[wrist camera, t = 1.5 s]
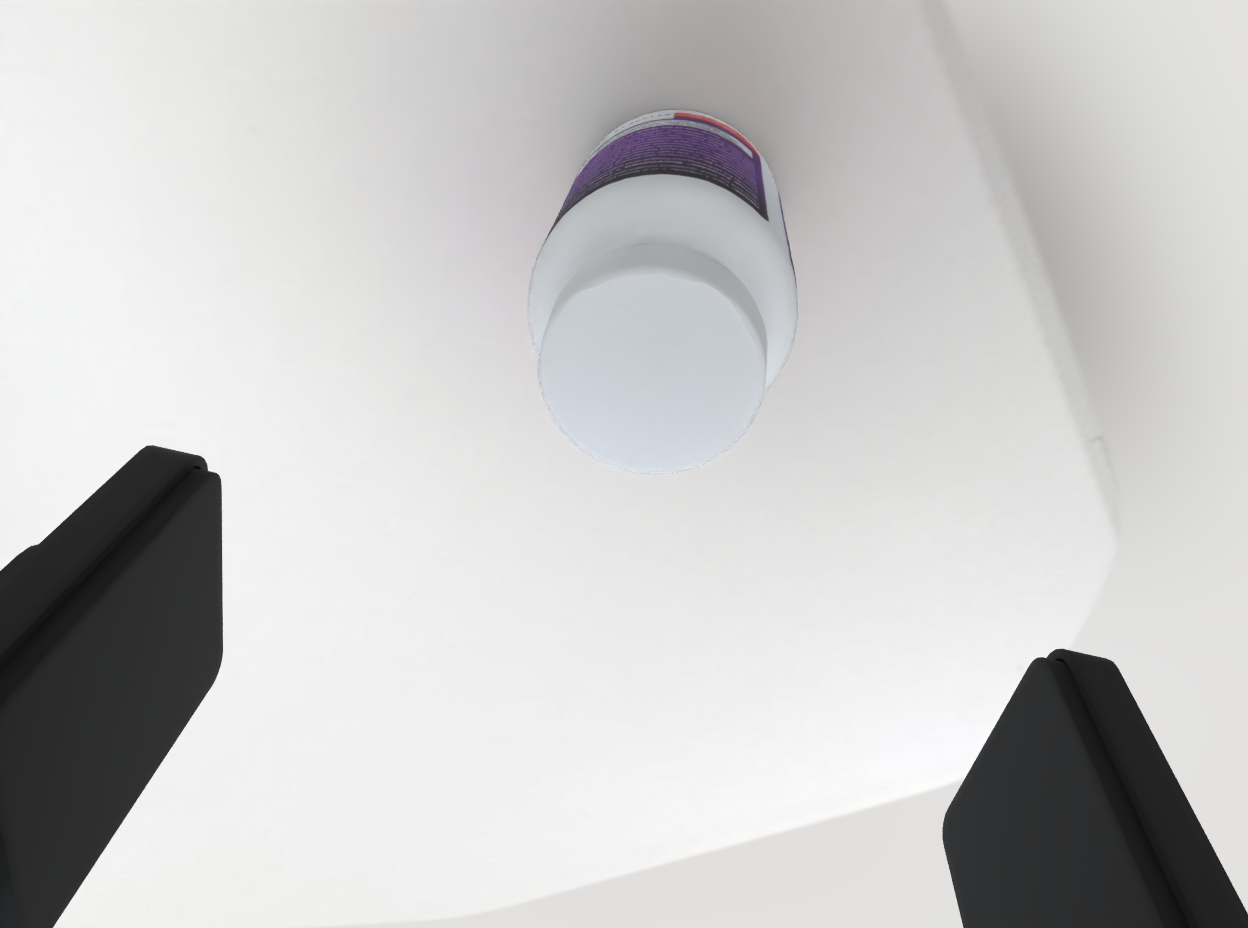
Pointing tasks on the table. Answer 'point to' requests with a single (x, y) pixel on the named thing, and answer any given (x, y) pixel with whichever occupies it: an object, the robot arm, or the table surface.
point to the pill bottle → (664, 294)
